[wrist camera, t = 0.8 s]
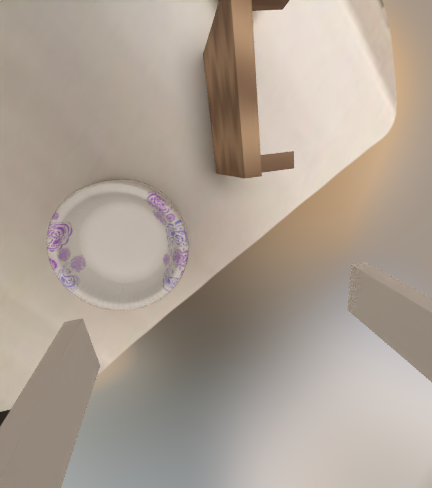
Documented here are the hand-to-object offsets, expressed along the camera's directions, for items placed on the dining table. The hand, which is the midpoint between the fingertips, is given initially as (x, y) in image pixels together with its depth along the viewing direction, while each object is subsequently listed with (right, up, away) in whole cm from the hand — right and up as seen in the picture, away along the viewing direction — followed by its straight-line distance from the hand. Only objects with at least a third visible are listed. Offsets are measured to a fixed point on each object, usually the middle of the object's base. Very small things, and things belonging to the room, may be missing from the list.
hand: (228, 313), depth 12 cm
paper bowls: (-13, +5, +23) cm, 27 cm away
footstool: (+1, +20, +21) cm, 29 cm away
